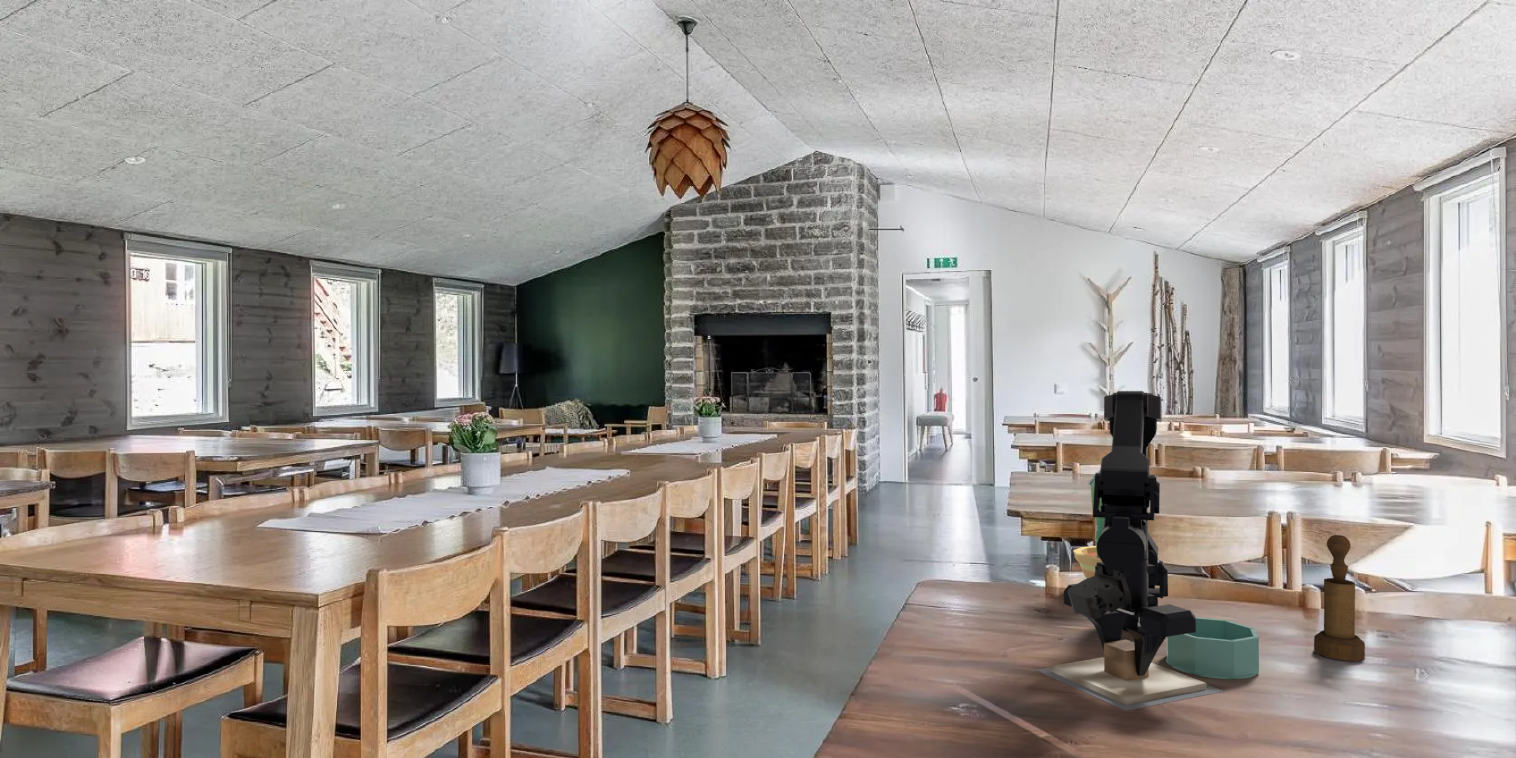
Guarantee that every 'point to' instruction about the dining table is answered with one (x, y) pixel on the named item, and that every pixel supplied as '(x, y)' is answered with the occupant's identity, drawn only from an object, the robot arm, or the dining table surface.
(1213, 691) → the mat
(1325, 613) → the brown wooden upright piece
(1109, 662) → the lid
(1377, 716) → the dining table surface
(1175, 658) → the bowl
